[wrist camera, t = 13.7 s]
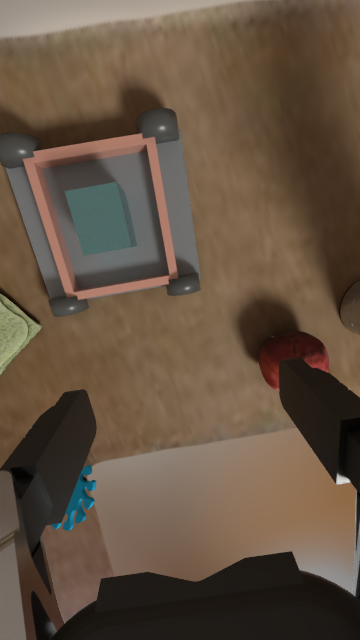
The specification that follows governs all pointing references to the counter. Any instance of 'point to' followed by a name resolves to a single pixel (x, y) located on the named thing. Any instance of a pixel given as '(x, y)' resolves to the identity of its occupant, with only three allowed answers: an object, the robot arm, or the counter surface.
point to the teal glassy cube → (101, 218)
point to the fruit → (291, 354)
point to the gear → (79, 500)
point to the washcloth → (14, 331)
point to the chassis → (143, 200)
